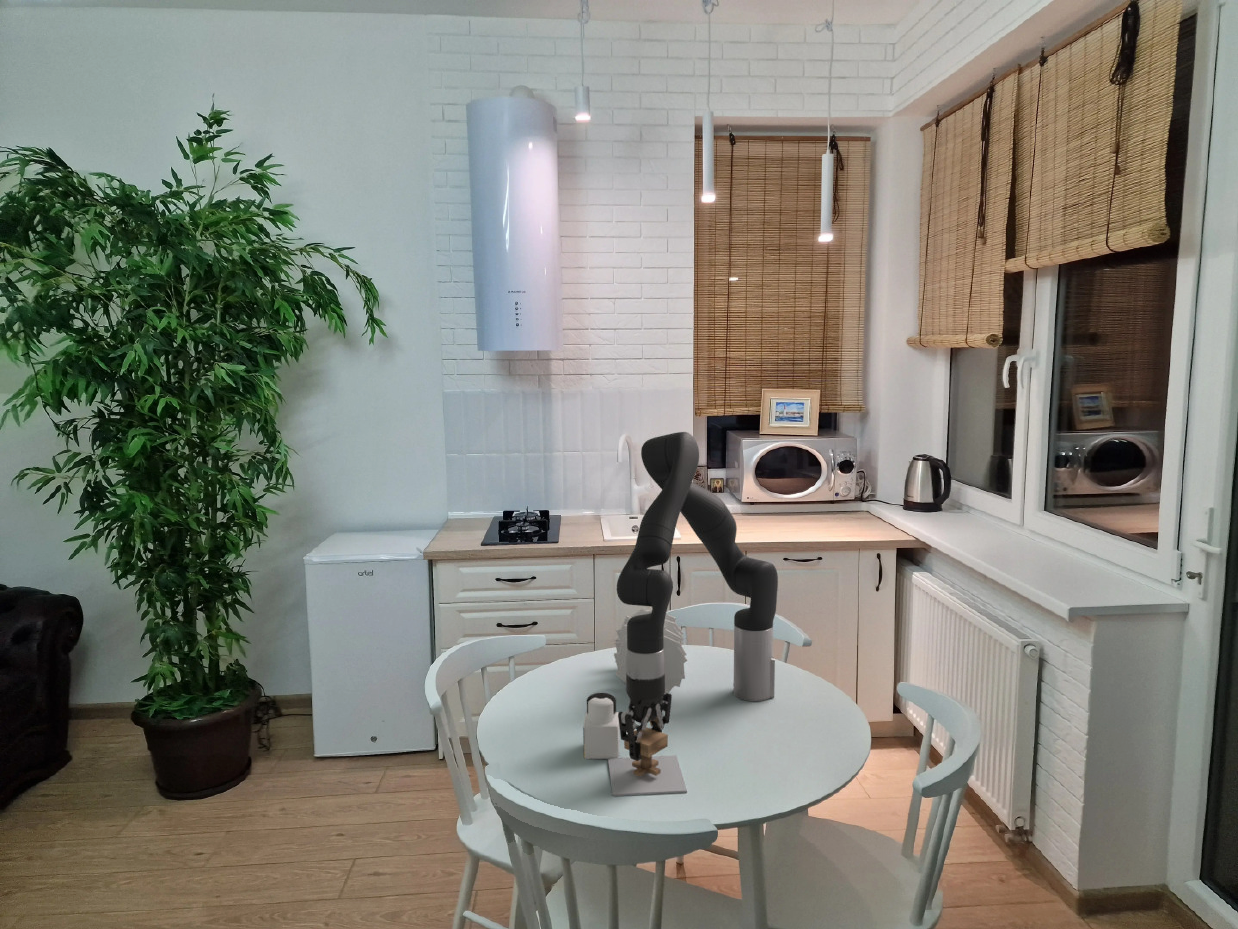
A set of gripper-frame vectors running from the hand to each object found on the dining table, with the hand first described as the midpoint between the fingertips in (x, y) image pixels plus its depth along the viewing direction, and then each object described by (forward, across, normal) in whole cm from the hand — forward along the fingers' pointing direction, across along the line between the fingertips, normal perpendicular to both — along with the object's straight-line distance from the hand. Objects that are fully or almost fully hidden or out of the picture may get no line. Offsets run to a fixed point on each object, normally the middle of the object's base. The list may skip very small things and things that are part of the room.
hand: (645, 752), depth 163 cm
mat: (+5, 0, 0) cm, 5 cm away
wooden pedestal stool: (+3, 0, 0) cm, 3 cm away
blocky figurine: (+5, -2, -13) cm, 14 cm away
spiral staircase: (+5, -37, -28) cm, 47 cm away
